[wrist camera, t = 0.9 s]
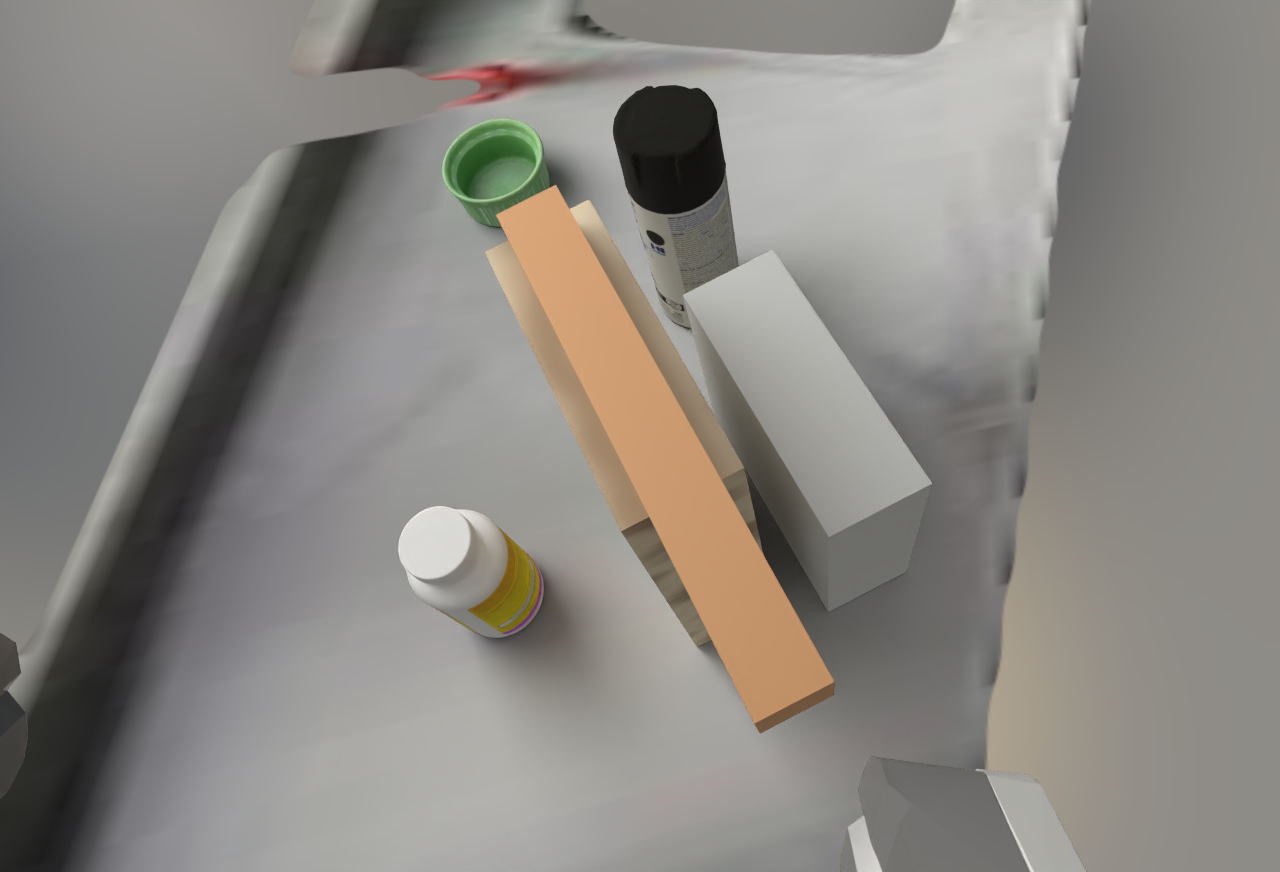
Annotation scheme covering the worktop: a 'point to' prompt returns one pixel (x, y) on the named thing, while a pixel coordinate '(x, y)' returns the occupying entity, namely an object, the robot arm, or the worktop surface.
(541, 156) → the ramekin
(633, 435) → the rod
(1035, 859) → the robot arm
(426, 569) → the supplement bottle
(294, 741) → the worktop surface
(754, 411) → the base
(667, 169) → the spray can
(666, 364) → the beige rectangular block
